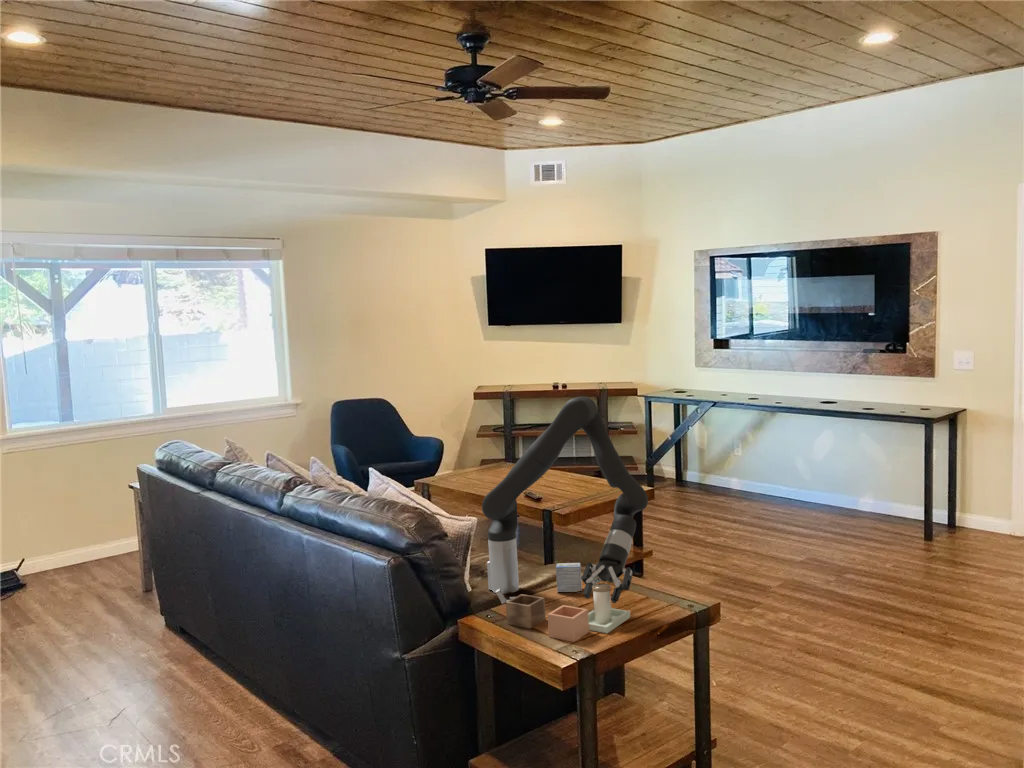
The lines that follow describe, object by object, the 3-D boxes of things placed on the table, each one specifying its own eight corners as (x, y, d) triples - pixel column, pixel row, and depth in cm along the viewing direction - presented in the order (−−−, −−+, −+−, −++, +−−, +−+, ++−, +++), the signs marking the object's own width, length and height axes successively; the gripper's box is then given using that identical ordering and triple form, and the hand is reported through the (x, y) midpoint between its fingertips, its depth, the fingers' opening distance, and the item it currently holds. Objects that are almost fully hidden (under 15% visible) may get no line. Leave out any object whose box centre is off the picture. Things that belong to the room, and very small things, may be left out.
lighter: (521, 613, 228) (519, 587, 228) (520, 615, 227) (519, 589, 226) (497, 614, 229) (495, 588, 228) (497, 616, 227) (495, 590, 227)
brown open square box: (507, 626, 218) (505, 602, 218) (522, 617, 225) (521, 594, 224) (530, 631, 214) (529, 606, 213) (545, 621, 220) (544, 597, 220)
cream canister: (590, 622, 214) (588, 587, 214) (599, 617, 219) (597, 582, 218) (607, 625, 212) (605, 590, 211) (615, 619, 216) (613, 584, 215)
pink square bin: (548, 639, 207) (547, 614, 206) (564, 629, 213) (562, 605, 213) (574, 644, 202) (573, 618, 202) (589, 634, 209) (588, 609, 208)
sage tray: (575, 630, 212) (574, 621, 212) (599, 614, 224) (599, 606, 224) (607, 636, 206) (606, 627, 206) (630, 619, 218) (630, 611, 218)
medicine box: (582, 588, 249) (580, 562, 248) (581, 593, 244) (580, 566, 244) (557, 589, 249) (556, 563, 249) (557, 593, 245) (555, 567, 245)
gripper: (589, 539, 224) (572, 589, 215) (634, 544, 216) (617, 596, 207) (599, 553, 229) (582, 602, 220) (643, 558, 221) (627, 609, 212)
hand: (599, 599), depth 214 cm, fingers open, 8 cm apart
